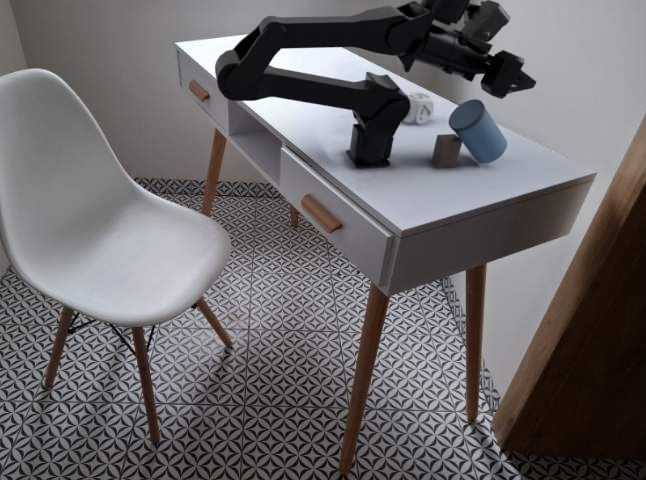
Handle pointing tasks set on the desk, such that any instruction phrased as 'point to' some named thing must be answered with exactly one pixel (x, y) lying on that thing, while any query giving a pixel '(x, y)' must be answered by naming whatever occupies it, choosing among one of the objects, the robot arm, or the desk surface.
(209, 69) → the desk surface
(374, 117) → the robot arm
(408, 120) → the die
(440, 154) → the small dark brown block
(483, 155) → the blue canister
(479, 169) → the desk surface
